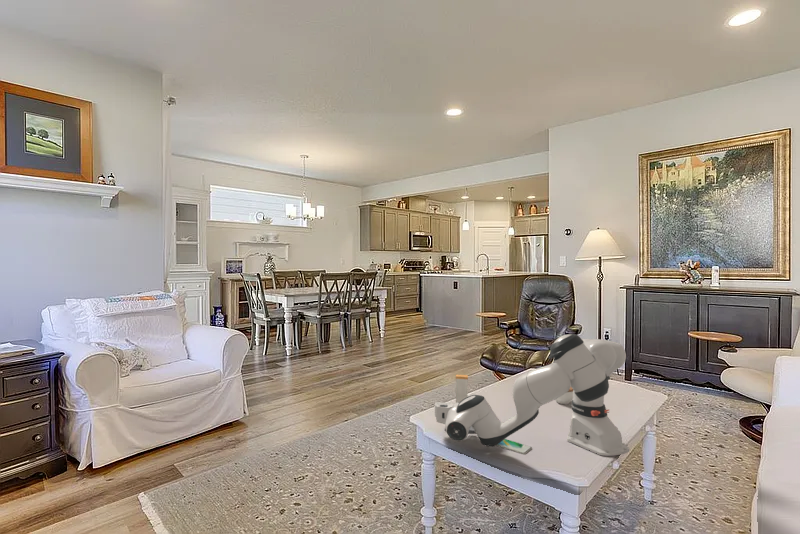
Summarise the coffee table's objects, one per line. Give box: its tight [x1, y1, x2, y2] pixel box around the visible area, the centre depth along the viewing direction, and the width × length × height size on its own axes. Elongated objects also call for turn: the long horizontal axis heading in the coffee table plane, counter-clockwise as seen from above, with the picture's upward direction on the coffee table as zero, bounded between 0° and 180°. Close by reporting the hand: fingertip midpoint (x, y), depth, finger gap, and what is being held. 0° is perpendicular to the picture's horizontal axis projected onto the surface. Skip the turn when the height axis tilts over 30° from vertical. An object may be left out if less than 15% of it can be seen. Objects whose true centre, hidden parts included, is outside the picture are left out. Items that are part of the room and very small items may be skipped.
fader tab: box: [455, 374, 469, 403], centre depth 191 cm, size 3×5×17 cm, turn 79°
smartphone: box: [495, 438, 533, 455], centre depth 162 cm, size 7×1×15 cm
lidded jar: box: [554, 387, 573, 405], centre depth 213 cm, size 11×11×9 cm
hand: (460, 404), depth 179 cm, fingers closed
